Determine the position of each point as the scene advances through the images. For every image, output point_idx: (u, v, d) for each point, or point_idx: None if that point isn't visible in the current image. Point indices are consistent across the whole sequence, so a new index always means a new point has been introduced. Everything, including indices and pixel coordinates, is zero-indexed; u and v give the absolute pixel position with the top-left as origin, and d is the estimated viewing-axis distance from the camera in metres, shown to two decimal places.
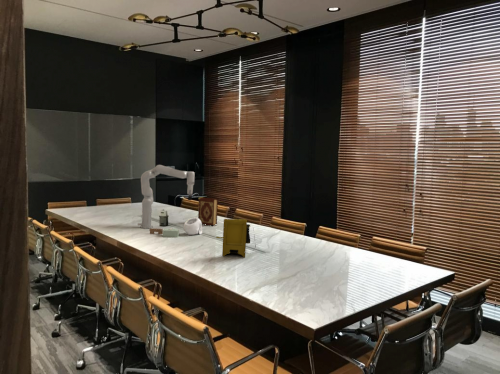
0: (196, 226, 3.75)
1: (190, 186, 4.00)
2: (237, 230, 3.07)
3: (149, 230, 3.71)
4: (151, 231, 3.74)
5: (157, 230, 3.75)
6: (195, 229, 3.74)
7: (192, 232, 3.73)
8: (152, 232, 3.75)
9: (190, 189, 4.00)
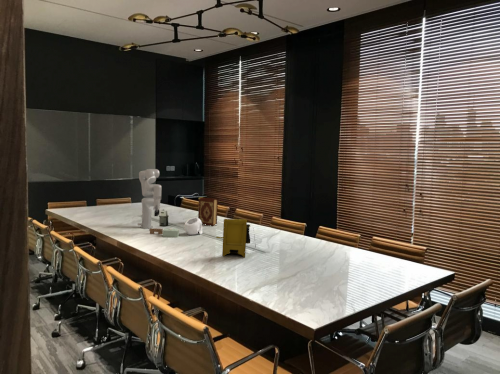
0: (196, 226, 3.75)
1: (156, 201, 3.69)
2: (237, 230, 3.07)
3: (149, 230, 3.71)
4: (151, 231, 3.74)
5: (157, 230, 3.75)
6: (195, 229, 3.74)
7: (192, 232, 3.74)
8: (152, 232, 3.75)
9: (156, 204, 3.69)
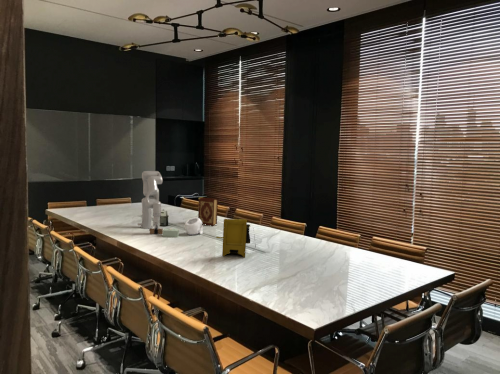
0: (197, 226, 3.75)
1: (156, 218, 3.70)
2: (237, 230, 3.07)
3: (149, 230, 3.71)
4: (151, 231, 3.74)
5: None
6: (196, 229, 3.75)
7: (193, 232, 3.74)
8: (152, 232, 3.75)
9: (156, 221, 3.70)
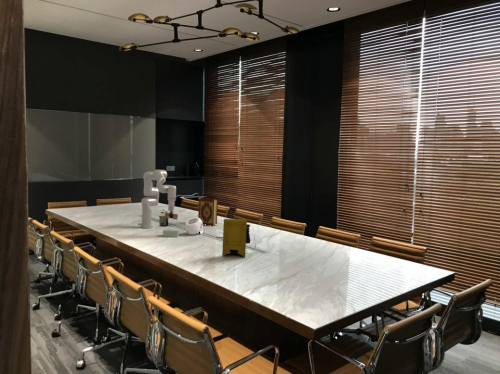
0: (197, 226, 3.76)
1: (171, 202, 3.62)
2: (237, 230, 3.07)
3: None
4: (166, 215, 3.66)
5: None
6: (196, 229, 3.75)
7: (193, 232, 3.74)
8: (167, 216, 3.67)
9: (171, 205, 3.62)
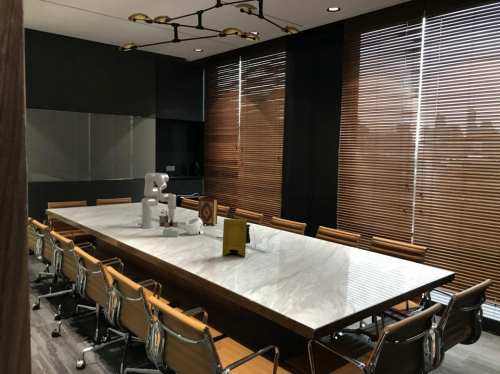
0: (197, 226, 3.76)
1: (171, 211, 3.63)
2: (237, 230, 3.07)
3: (164, 224, 3.64)
4: (166, 225, 3.67)
5: None
6: (196, 229, 3.75)
7: (193, 232, 3.75)
8: (167, 226, 3.67)
9: (171, 214, 3.63)
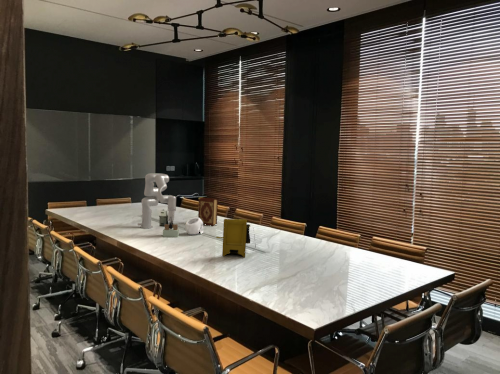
0: (197, 226, 3.76)
1: (171, 212, 3.63)
2: (237, 230, 3.07)
3: None
4: (166, 227, 3.67)
5: (172, 226, 3.68)
6: (196, 229, 3.75)
7: (193, 232, 3.75)
8: (167, 228, 3.67)
9: (171, 216, 3.63)
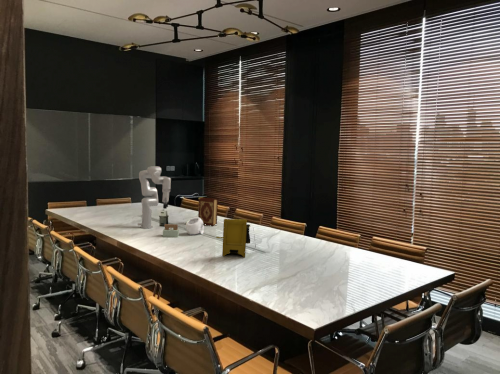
0: (198, 226, 3.76)
1: (165, 193, 3.69)
2: (237, 230, 3.07)
3: None
4: (166, 227, 3.67)
5: (172, 226, 3.68)
6: (197, 229, 3.76)
7: (194, 232, 3.75)
8: (167, 228, 3.67)
9: (165, 197, 3.69)
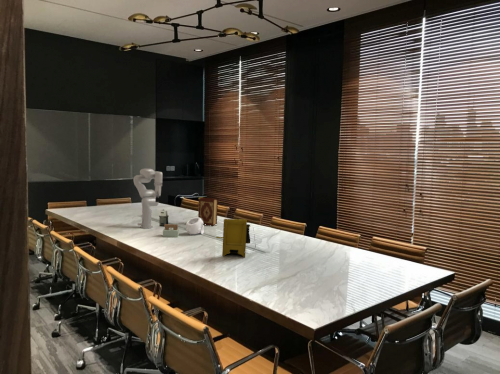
0: (198, 226, 3.77)
1: (157, 187, 3.79)
2: (237, 230, 3.07)
3: None
4: (166, 227, 3.67)
5: (172, 226, 3.68)
6: (197, 229, 3.76)
7: (194, 232, 3.75)
8: (167, 228, 3.67)
9: (157, 190, 3.79)
